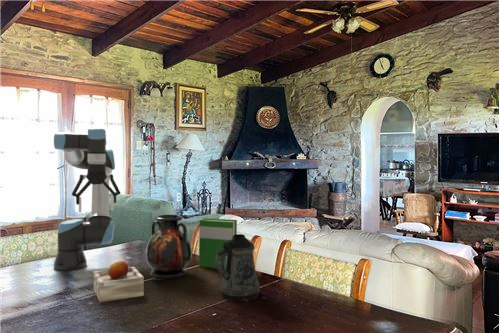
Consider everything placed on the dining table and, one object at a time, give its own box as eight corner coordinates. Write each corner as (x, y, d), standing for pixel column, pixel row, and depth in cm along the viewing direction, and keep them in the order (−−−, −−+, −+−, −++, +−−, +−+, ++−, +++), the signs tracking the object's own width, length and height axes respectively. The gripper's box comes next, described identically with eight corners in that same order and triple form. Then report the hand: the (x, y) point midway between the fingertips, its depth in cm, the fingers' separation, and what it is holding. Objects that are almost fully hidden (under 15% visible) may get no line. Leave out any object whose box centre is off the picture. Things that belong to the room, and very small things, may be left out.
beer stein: (264, 291, 174) (265, 233, 173) (249, 307, 155) (250, 242, 154) (228, 286, 179) (229, 229, 178) (210, 301, 161) (211, 238, 160)
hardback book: (236, 265, 211) (236, 219, 210) (231, 269, 204) (232, 222, 203) (204, 263, 216) (204, 217, 215) (198, 266, 208) (199, 220, 207)
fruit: (126, 278, 164) (117, 260, 165) (111, 286, 166) (102, 269, 166) (136, 272, 172) (127, 255, 173) (121, 280, 174) (112, 264, 174)
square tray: (93, 288, 173) (93, 271, 172) (134, 283, 181) (134, 266, 181) (99, 302, 158) (99, 283, 158) (143, 295, 166) (143, 277, 166)
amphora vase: (135, 278, 188) (136, 218, 187) (162, 266, 208) (162, 211, 207) (175, 284, 180) (176, 221, 179) (199, 271, 200) (200, 215, 199)
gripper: (66, 163, 171) (66, 214, 172) (127, 163, 183) (126, 210, 184) (65, 163, 178) (65, 211, 178) (123, 163, 190) (123, 208, 190)
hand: (96, 211), depth 181 cm, fingers open, 13 cm apart
